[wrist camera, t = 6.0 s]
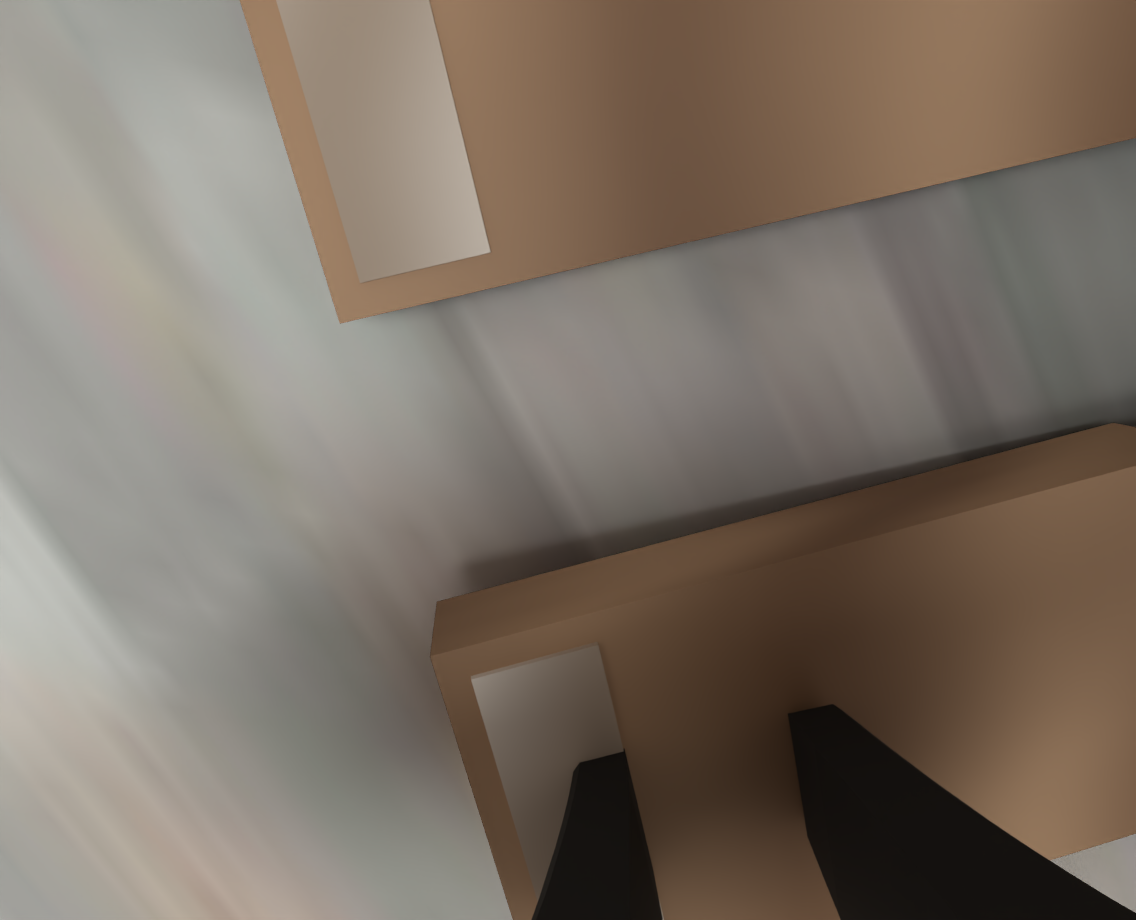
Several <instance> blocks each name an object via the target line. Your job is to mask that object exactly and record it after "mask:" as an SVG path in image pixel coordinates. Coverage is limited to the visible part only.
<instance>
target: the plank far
mask: <svg viewBox="0 0 1136 920" xmlns="http://www.w3.org/2000/svg"><path fill="white" fill-rule="evenodd" d="M430 658H431V661H432V664H433V668H434V671H435V674H436V677H437V680H438V684H439V687H440V690H441V693H442V696H443V699H444V703H445V706H446V709H447V712H448V715H449V718H450V722H451V725H452V728H453V731H454V734H455V737H456V741H457V744H458V747H459V750H460V753H461V756H462V760H463V763H464V766H465V769H466V772H467V775H468V779H469V782H470V785H471V788H472V791H473V795H474V798H475V801H476V804H477V807H478V810H479V814H480V817H481V820H482V823H483V826H484V829H485V833H486V836H487V839H488V842H489V845H490V848H491V852H492V855H493V858H494V861H495V864H496V867H497V871H498V874H499V877H500V880H501V883H502V886H503V890H504V893H505V896H506V899H507V902H508V905H509V909H510V912H511V915H512V918H513V920H531V919H532V916H533V914H534V911H535V908H536V905H537V903H538V900H539V897H540V894H541V890H542V887H543V884H544V881H545V878H546V875H547V872H548V868H549V865H550V862H551V859H552V856H553V853H554V850H555V846H556V843H557V839H558V836H559V832H560V828H561V825H562V821H563V817H564V813H565V809H566V805H567V801H568V797H569V792H570V787H571V782H572V776H573V771H574V770H575V768H576V767H577V766H578V764H579V763H580V762H584V761H588V760H592V759H596V758H600V757H604V756H608V755H612V754H615V753H619V752H623V751H624V750H623V749H625V753H626V757H627V761H628V765H629V770H630V774H631V778H632V782H633V786H634V791H635V795H636V799H637V803H638V808H639V812H640V816H641V820H642V824H643V829H644V833H645V837H646V841H647V845H648V850H649V854H650V858H651V862H652V867H653V871H654V876H655V881H656V887H657V892H658V897H659V902H660V907H661V913H662V918H663V920H841V919H840V917H839V914H838V912H837V909H836V907H835V905H834V902H833V900H832V897H831V895H830V892H829V890H828V887H827V885H826V883H825V880H824V878H823V875H822V872H821V870H820V867H819V865H818V862H817V860H816V857H815V855H814V852H813V850H812V847H811V845H810V842H809V840H808V837H807V831H806V825H805V819H804V812H803V806H802V800H801V793H800V787H799V781H798V775H797V768H796V762H795V756H794V750H793V743H792V737H791V731H790V724H789V718H788V713H793V712H797V711H802V710H807V709H812V708H816V707H821V706H826V705H830V704H834V705H835V706H837V707H838V708H840V709H841V710H843V711H844V712H845V713H847V714H848V715H849V716H850V717H852V718H853V719H854V720H855V721H857V722H858V723H859V724H861V725H862V726H863V727H864V728H866V729H867V730H868V731H869V732H871V733H872V734H873V735H874V736H876V737H877V738H878V739H880V740H881V741H882V742H883V743H885V744H886V745H887V746H889V747H890V748H891V749H892V750H894V751H895V752H896V753H898V754H899V755H900V756H902V757H903V758H904V759H906V760H907V761H908V762H909V763H911V764H912V765H913V766H915V767H916V768H917V769H919V770H920V771H921V772H923V773H924V774H925V775H927V776H928V777H929V778H931V779H932V780H933V781H935V782H936V783H938V784H939V785H940V786H942V787H943V788H945V789H946V790H947V791H949V792H950V793H952V794H953V795H954V796H956V797H957V798H959V799H960V800H961V801H963V802H964V803H966V804H967V805H968V806H970V807H971V808H973V809H974V810H975V811H977V812H978V813H980V814H981V815H983V816H984V817H985V818H987V819H988V820H990V821H991V822H992V823H994V824H995V825H997V826H998V827H1000V828H1001V829H1003V830H1004V831H1006V832H1007V833H1009V834H1010V835H1012V836H1013V837H1015V838H1016V839H1018V840H1019V841H1021V842H1022V843H1024V844H1025V845H1027V846H1028V847H1030V848H1031V849H1033V850H1034V851H1036V852H1037V853H1039V854H1041V855H1042V856H1044V857H1045V858H1047V859H1048V860H1052V859H1056V858H1059V857H1062V856H1065V855H1068V854H1072V853H1075V852H1078V851H1081V850H1085V849H1088V848H1091V847H1094V846H1097V845H1101V844H1104V843H1107V842H1110V841H1113V840H1117V839H1120V838H1123V837H1126V836H1129V835H1133V834H1136V427H1132V426H1127V425H1122V424H1117V423H1110V424H1106V425H1103V426H1099V427H1095V428H1091V429H1087V430H1084V431H1080V432H1076V433H1072V434H1069V435H1065V436H1061V437H1057V438H1053V439H1050V440H1046V441H1042V442H1038V443H1035V444H1031V445H1027V446H1023V447H1019V448H1016V449H1012V450H1008V451H1004V452H1001V453H997V454H993V455H989V456H986V457H982V458H978V459H974V460H970V461H967V462H963V463H959V464H955V465H952V466H948V467H944V468H940V469H936V470H933V471H929V472H925V473H921V474H918V475H914V476H910V477H906V478H902V479H899V480H895V481H891V482H887V483H884V484H880V485H876V486H872V487H868V488H865V489H861V490H857V491H853V492H850V493H846V494H842V495H838V496H834V497H831V498H827V499H823V500H819V501H816V502H812V503H808V504H804V505H800V506H797V507H793V508H789V509H785V510H782V511H778V512H774V513H770V514H766V515H763V516H759V517H755V518H751V519H748V520H744V521H740V522H736V523H732V524H729V525H725V526H721V527H717V528H714V529H710V530H706V531H702V532H698V533H695V534H691V535H687V536H683V537H680V538H676V539H672V540H668V541H664V542H661V543H657V544H653V545H649V546H646V547H642V548H638V549H634V550H630V551H627V552H623V553H619V554H615V555H612V556H608V557H604V558H600V559H596V560H593V561H589V562H585V563H581V564H578V565H574V566H570V567H566V568H562V569H559V570H555V571H551V572H547V573H544V574H540V575H536V576H532V577H528V578H525V579H521V580H517V581H513V582H510V583H506V584H502V585H498V586H494V587H491V588H487V589H483V590H479V591H476V592H472V593H468V594H464V595H460V596H457V597H453V598H449V599H445V600H442V601H438V602H437V605H436V613H435V621H434V629H433V637H432V644H431V652H430Z"/></svg>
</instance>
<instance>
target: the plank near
mask: <svg viewBox="0 0 1136 920" xmlns="http://www.w3.org/2000/svg"><path fill="white" fill-rule="evenodd" d="M240 2H241V6H242V9H243V12H244V15H245V19H246V22H247V25H248V28H249V31H250V35H251V38H252V41H253V44H254V48H255V51H256V54H257V57H258V61H259V64H260V67H261V70H262V73H263V77H264V80H265V83H266V86H267V90H268V93H269V96H270V99H271V103H272V106H273V109H274V112H275V115H276V119H277V122H278V125H279V128H280V132H281V135H282V138H283V141H284V145H285V148H286V151H287V154H288V157H289V161H290V164H291V167H292V170H293V174H294V177H295V180H296V183H297V187H298V190H299V193H300V196H301V199H302V203H303V206H304V209H305V212H306V216H307V219H308V222H309V225H310V229H311V232H312V235H313V238H314V241H315V245H316V248H317V251H318V254H319V258H320V261H321V264H322V267H323V271H324V274H325V277H326V280H327V283H328V287H329V290H330V293H331V296H332V300H333V303H334V306H335V309H336V312H337V316H338V319H339V322H340V323H344V322H348V321H353V320H357V319H361V318H366V317H370V316H374V315H378V314H383V313H387V312H391V311H396V310H400V309H404V308H409V307H413V306H417V305H421V304H426V303H430V302H434V301H439V300H443V299H447V298H451V297H456V296H460V295H464V294H469V293H473V292H477V291H481V290H486V289H490V288H494V287H499V286H503V285H507V284H511V283H516V282H520V281H524V280H529V279H533V278H537V277H541V276H546V275H550V274H554V273H559V272H563V271H567V270H571V269H576V268H580V267H584V266H589V265H593V264H597V263H601V262H606V261H610V260H614V259H619V258H623V257H627V256H631V255H636V254H640V253H644V252H649V251H653V250H657V249H661V248H666V247H670V246H674V245H679V244H683V243H687V242H691V241H696V240H700V239H704V238H709V237H713V236H717V235H722V234H726V233H730V232H734V231H739V230H743V229H747V228H752V227H756V226H760V225H764V224H769V223H773V222H777V221H782V220H786V219H790V218H794V217H799V216H803V215H807V214H812V213H816V212H820V211H824V210H829V209H833V208H837V207H842V206H846V205H850V204H854V203H859V202H863V201H867V200H872V199H876V198H880V197H884V196H889V195H893V194H897V193H902V192H906V191H910V190H914V189H919V188H923V187H927V186H932V185H936V184H940V183H944V182H949V181H953V180H957V179H962V178H966V177H970V176H974V175H979V174H983V173H987V172H992V171H996V170H1000V169H1004V168H1009V167H1013V166H1017V165H1022V164H1026V163H1030V162H1034V161H1039V160H1043V159H1047V158H1052V157H1056V156H1060V155H1065V154H1069V153H1073V152H1077V151H1082V150H1086V149H1090V148H1095V147H1099V146H1103V145H1107V144H1112V143H1116V142H1120V141H1125V140H1129V139H1133V138H1136V0H240Z"/></svg>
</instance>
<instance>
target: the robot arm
mask: <svg viewBox="0 0 1136 920" xmlns="http://www.w3.org/2000/svg"><path fill="white" fill-rule="evenodd" d="M788 718H789V724H790V731H791V737H792V743H793V750H794V756H795V762H796V768H797V775H798V781H799V787H800V793H801V800H802V806H803V812H804V819H805V825H806V831H807V837H808V840H809V842H810V845H811V847H812V850H813V852H814V855H815V857H816V860H817V862H818V865H819V867H820V870H821V872H822V875H823V878H824V880H825V883H826V885H827V887H828V890H829V892H830V895H831V897H832V900H833V902H834V905H835V907H836V909H837V912H838V914H839V917H840V919H841V920H1136V913H1135V912H1133V911H1131V910H1130V909H1128V908H1126V907H1124V906H1122V905H1121V904H1119V903H1117V902H1116V901H1114V900H1112V899H1111V898H1109V897H1107V896H1106V895H1104V894H1102V893H1101V892H1099V891H1097V890H1096V889H1094V888H1093V887H1091V886H1089V885H1088V884H1086V883H1084V882H1083V881H1081V880H1080V879H1078V878H1076V877H1075V876H1073V875H1072V874H1070V873H1068V872H1067V871H1065V870H1064V869H1062V868H1061V867H1059V866H1058V865H1056V864H1054V863H1053V862H1051V861H1050V860H1048V859H1047V858H1045V857H1044V856H1042V855H1041V854H1039V853H1037V852H1036V851H1034V850H1033V849H1031V848H1030V847H1028V846H1027V845H1025V844H1024V843H1022V842H1021V841H1019V840H1018V839H1016V838H1015V837H1013V836H1012V835H1010V834H1009V833H1007V832H1006V831H1004V830H1003V829H1001V828H1000V827H998V826H997V825H995V824H994V823H992V822H991V821H990V820H988V819H987V818H985V817H984V816H983V815H981V814H980V813H978V812H977V811H975V810H974V809H973V808H971V807H970V806H968V805H967V804H966V803H964V802H963V801H961V800H960V799H959V798H957V797H956V796H954V795H953V794H952V793H950V792H949V791H947V790H946V789H945V788H943V787H942V786H940V785H939V784H938V783H936V782H935V781H933V780H932V779H931V778H929V777H928V776H927V775H925V774H924V773H923V772H921V771H920V770H919V769H917V768H916V767H915V766H913V765H912V764H911V763H909V762H908V761H907V760H906V759H904V758H903V757H902V756H900V755H899V754H898V753H896V752H895V751H894V750H892V749H891V748H890V747H889V746H887V745H886V744H885V743H883V742H882V741H881V740H880V739H878V738H877V737H876V736H874V735H873V734H872V733H871V732H869V731H868V730H867V729H866V728H864V727H863V726H862V725H861V724H859V723H858V722H857V721H855V720H854V719H853V718H852V717H850V716H849V715H848V714H847V713H845V712H844V711H843V710H841V709H840V708H838V707H837V706H835V705H834V704H830V705H826V706H821V707H816V708H812V709H807V710H802V711H797V712H793V713H788ZM623 750H624V751H623V752H619V753H615V754H612V755H608V756H604V757H600V758H596V759H592V760H588V761H584V762H580V763H579V764H578V766H577V767H576V768H575V770H574V771H573V776H572V782H571V787H570V792H569V797H568V801H567V805H566V809H565V813H564V817H563V821H562V825H561V828H560V832H559V836H558V839H557V843H556V846H555V850H554V853H553V856H552V859H551V862H550V865H549V868H548V872H547V875H546V878H545V881H544V884H543V887H542V890H541V894H540V897H539V900H538V903H537V905H536V908H535V911H534V914H533V916H532V919H531V920H663V918H662V913H661V907H660V902H659V897H658V892H657V887H656V881H655V876H654V871H653V867H652V862H651V858H650V854H649V850H648V845H647V841H646V837H645V833H644V829H643V824H642V820H641V816H640V812H639V808H638V803H637V799H636V795H635V791H634V786H633V782H632V778H631V774H630V770H629V765H628V761H627V757H626V753H625V749H623Z"/></svg>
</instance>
